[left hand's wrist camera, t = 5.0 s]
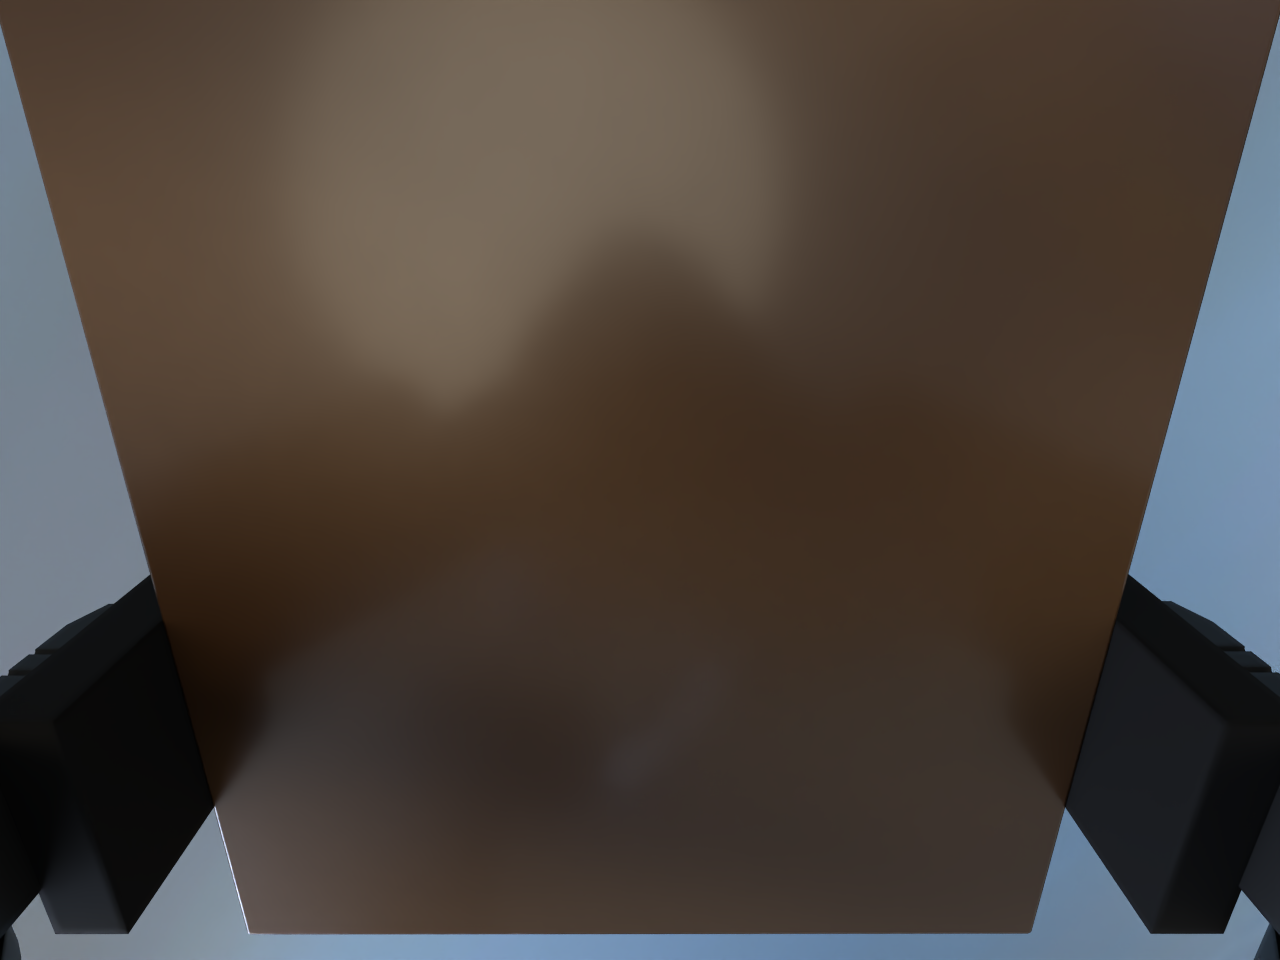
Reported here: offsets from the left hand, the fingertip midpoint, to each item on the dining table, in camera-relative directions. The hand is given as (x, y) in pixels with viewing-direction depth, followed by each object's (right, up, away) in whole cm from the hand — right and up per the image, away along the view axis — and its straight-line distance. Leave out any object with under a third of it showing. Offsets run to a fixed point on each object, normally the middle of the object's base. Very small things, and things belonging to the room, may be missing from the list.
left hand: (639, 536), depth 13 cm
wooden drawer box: (0, +9, +3) cm, 9 cm away
